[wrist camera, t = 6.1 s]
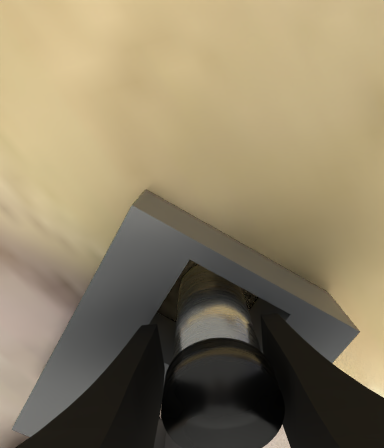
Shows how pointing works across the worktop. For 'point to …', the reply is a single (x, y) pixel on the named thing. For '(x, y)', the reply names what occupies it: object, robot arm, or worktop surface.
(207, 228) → the socket strip
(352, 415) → the robot arm
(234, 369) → the jar
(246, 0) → the worktop surface
